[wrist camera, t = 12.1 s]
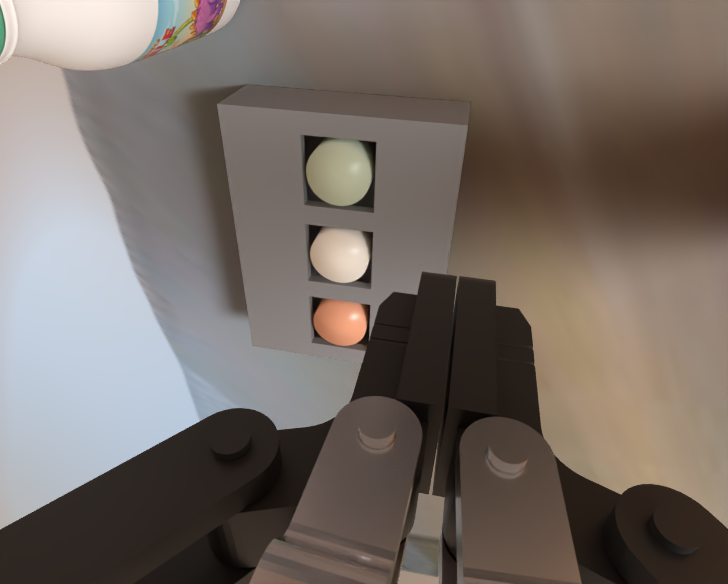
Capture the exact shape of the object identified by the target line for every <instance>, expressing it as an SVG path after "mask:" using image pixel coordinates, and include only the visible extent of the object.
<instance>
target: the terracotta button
mask: <svg viewBox="0 0 728 584" xmlns="http://www.w3.org/2000/svg"><path fill="white" fill-rule="evenodd" d="M355 281H358V282H364V281H362V280H360V279H357V280H355ZM369 319H370V305H368V304H361V303H354V302H347V301H340V300H333V299H326V298H322V300H321V302H320V304H319V306H318V308H317V311H316V313H315V315H314V319H313V322H314V327H315V329H316V331H317V332H318V334H319V335H320V336H321V337H322V338H324V339H325V340H326V341H328V342H330V343H333V344H336V345H341V346H348V345H353V344H356V343H358V342H359V341H360V340H361V339H362V338H363V337H364V335H365V332H366V328H367V325H368V322H369Z"/></svg>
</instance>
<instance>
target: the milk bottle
mask: <svg viewBox="0 0 728 584" xmlns="http://www.w3.org/2000/svg"><path fill="white" fill-rule="evenodd" d="M239 3H240V0H0V64H3V63H4V62H6V61H7V60H8V59H9V58H10V57H11V56H19V57H26V58H30V59H34V60H37V61H41V62H43V63H46V64H50V65H53V66H57V67H61V68H66V69H73V70H88V71H94V70H104V69H111V68H116V67H119V66H123V65H126V64H129V63H133V62H136V61H139V60H142V59H145V58H147V57H150V56H153V55H156V54H159V53H161V52H164V51H167V50H170V49H172V48H175V47H178V46H180V45H183V44H185V43H188V42H191V41H193V40H196V39H198V38H201V37H204V36H206V35H209V34H211V33H213V32H215V31H217V30H219V29H221V28H222V27H224V26H225V25H226V24H227V23H228V22H229V21H230V20H231V18H232V17H233V16H234V14H235V12H236V10H237V8H238V6H239Z"/></svg>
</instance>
